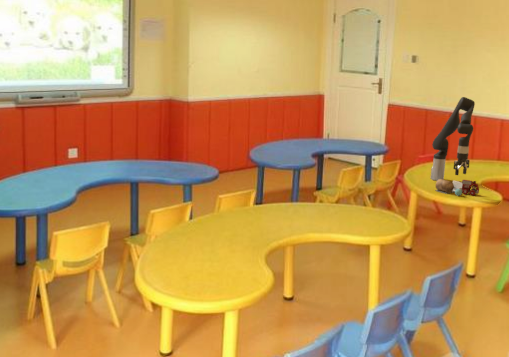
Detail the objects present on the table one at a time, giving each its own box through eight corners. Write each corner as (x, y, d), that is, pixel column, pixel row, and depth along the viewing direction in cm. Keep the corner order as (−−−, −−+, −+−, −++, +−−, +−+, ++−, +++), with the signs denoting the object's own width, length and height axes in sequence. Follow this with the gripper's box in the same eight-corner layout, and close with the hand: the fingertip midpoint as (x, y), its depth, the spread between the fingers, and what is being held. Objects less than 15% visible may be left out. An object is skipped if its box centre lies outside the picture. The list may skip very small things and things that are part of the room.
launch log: (435, 190, 481) (436, 179, 479) (442, 189, 486) (443, 178, 484) (446, 193, 473) (447, 182, 471) (453, 192, 478) (454, 181, 476)
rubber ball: (453, 195, 469) (453, 188, 468) (457, 194, 472) (458, 187, 471) (458, 196, 465) (459, 190, 464) (463, 196, 468) (463, 189, 467)
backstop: (446, 187, 489) (447, 181, 488) (452, 186, 493) (453, 180, 492) (459, 191, 481) (459, 184, 479) (465, 190, 484) (465, 183, 483)
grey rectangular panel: (435, 190, 481) (435, 190, 481) (453, 187, 493) (453, 187, 493) (445, 193, 473) (446, 193, 473) (464, 190, 485) (464, 190, 485)
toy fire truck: (477, 196, 468) (478, 182, 466) (459, 194, 474) (461, 180, 472) (479, 194, 474) (480, 180, 472) (461, 192, 480) (463, 178, 478)
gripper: (464, 150, 469) (462, 172, 472) (452, 152, 461) (449, 174, 464) (473, 152, 463) (471, 174, 466) (460, 153, 455) (458, 176, 458)
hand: (460, 174), depth 465 cm, fingers open, 8 cm apart
